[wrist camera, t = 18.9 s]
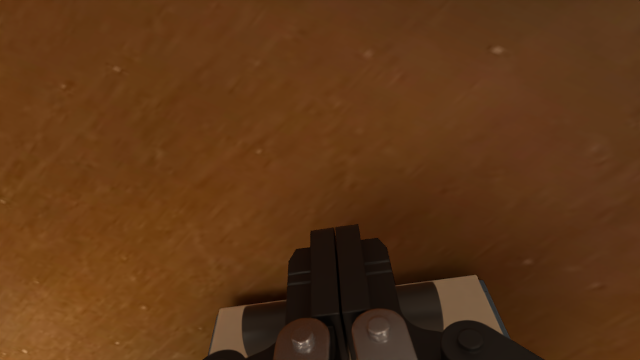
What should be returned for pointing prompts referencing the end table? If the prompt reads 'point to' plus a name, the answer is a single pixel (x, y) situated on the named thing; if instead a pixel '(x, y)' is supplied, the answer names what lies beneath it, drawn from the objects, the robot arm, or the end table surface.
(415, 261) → the end table surface
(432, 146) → the end table surface
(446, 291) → the drawer
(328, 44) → the end table surface
